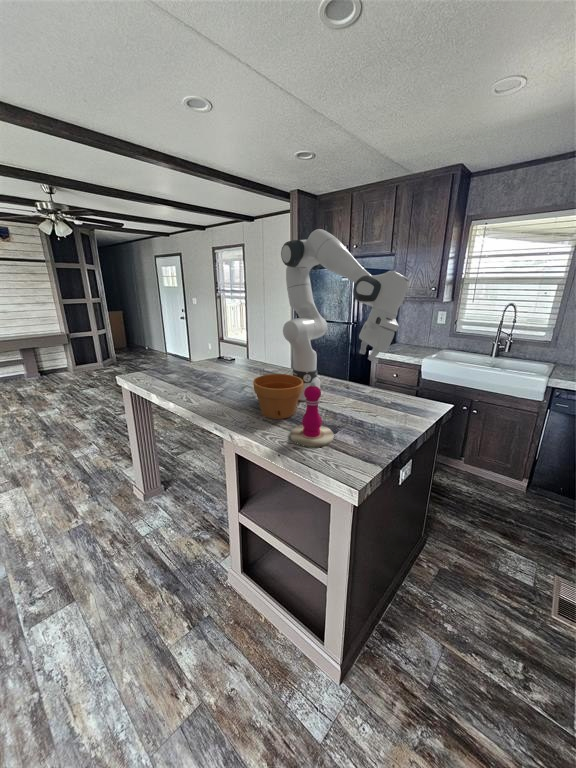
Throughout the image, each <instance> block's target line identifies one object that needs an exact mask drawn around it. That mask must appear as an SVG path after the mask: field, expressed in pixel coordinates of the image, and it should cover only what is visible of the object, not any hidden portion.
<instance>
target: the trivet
mask: <svg viewBox="0 0 576 768" xmlns="http://www.w3.org/2000/svg"><path fill="white" fill-rule="evenodd" d="M303 428H304V426H303V425H302V424H300V425H298V426H296V427H294V428H293V429H292V430H291V431H290V432H289V433H290V434H289V435H290V436H291V437H290V440H291V439H292V440H293V441H294V442H293V441H292V440H291V441H292V442H293V443H295V442H296V443H298V444H300V445H299V446H301V445H304V446H303V447H305V446H309V447H308V448H320V446H322V447H325V446H327V445H330V444H332V442H333V441H334V437H335V436H334V432H333V431H332V429H330V428H329V427H326V426H324V425H321V427H320V435H319V436H316V437H308V436H305V435H304V434H303ZM296 443H295V444H296ZM298 444H297V445H298Z"/></svg>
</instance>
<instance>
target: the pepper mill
mask: <svg viewBox="0 0 576 768" xmlns="http://www.w3.org/2000/svg"><path fill="white" fill-rule="evenodd" d="M310 385H311V386H309V387H307V388H306V389H305V391H304V395H305V397H306V401H305V404H306V410H305V413H304V415H303V417H302V421H301V425H303V426H304V428H303V434H304V435H305V436H308V437H316V436H319V435H320V427H321V426H323V422H322V417H321V415H320V413H319V404H320V398H321V397H322V396H321V392H322V390H321V388H320V389H319V388H318V387H317V386H315V383H314V382H311V384H310Z"/></svg>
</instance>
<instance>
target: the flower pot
mask: <svg viewBox="0 0 576 768" xmlns="http://www.w3.org/2000/svg"><path fill="white" fill-rule="evenodd" d="M252 382H253V389H254V390H253V391H254V393H255V394H256V397H257V400H258V403H259V408H260V412H261V414H262V415H263V417H266V418H269V419H272V418H273V420H281V419H283V420H284V419H287V418H290V417H292V416H294V414H295V413H296V409H297V405H298V402H299V400H298V399H299V395H300V394H301V393H302V389H303V380H302V379H301V378H299V377H296V376H293V374H284V373H270V374H269V373H267V374H264V375H260V376H257V377H255V378H254V379H253V381H252Z"/></svg>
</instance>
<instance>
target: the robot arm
mask: <svg viewBox="0 0 576 768" xmlns="http://www.w3.org/2000/svg"><path fill="white" fill-rule="evenodd" d="M280 257H281V261H282V263H283V264H284V265H285V266H286V267H285V282H286V290H287V291H286V292H287V296H288V303H289V306H290V307H291V308H292V309H293V310H294V311H295V313H296V314H297V317H296V318H293V319H290V320H288V321H286V322H285V323H284V325H283V327H282V335H283V337H284V339H285V340H286V341H287V342H288V343H289V344H290V346H291V349H292V353H293V368H292V376H296V377H299V378H301V379H302V380H303V389H302V393H301V394H300V395H299V399H298V401H302V402H303V401H305V402H306V397H305V395H304V391H305V389H306V388H307V387H309V386H311V385H310V384H311V382H314V383H315V386H317V387H318V388H319V389H320V390H321V380H320V378H318V368H317V363H318V362H317V361H318V360H317V357H318V355H317V351H316V350H314V349H313V347H312V343H311V340H312V341H313V340H317V339H319V338H321V337H323V336H324V335H325V334H326V332H327V331H328V323H327V321H326V319H325V318H324V317H322V315H321V314H320V312H319V310H318V309H317V306H316V304H315V300H314V295H313V290H312V283H311V279H310V272H311V270H317V269H319V267H321V266H322V267H323V268H324V269H326V270H328V271H330V272H332V273H334V274H336V275H338V276H342V277H344V278H346V279H348V280H349V281H351V282H353V283H354V286H353V290H352V293H353V297H354V299H355V300H356V301H357V302H359V303H361V304H364V305H366V306H369V307H371V310H370V312H369V315H368V317H367V320H366V321H365V323H363V326H362V328H361V330H360V332H359V335H358V338H359V340H360V341H361V343H360V349H359V354H361V355H366V352H367V346H368V345H369V346H370V347H372V350H371V352H370V354H368V357H367V360H369V361H371V362H374V361H375V359H376V357H377V356H378V355H379V354H380V352H382V353H385V352H387V350H388V349H390V348H389V347H390V345H391V343H392V342H393V339H394V337H395V332H397V331H398V329H399V327H400V325H399V323H398V321H397V316H398V312H399V308H400V307H401V306H402V304H403V302H404V300H405V297H406V294H407V291H408V288H409V284H410V283H409V279H408V278H407V276H405V275H403V274H401V273H399V272H397V271H394V270H388V271H386V272H384V273H380V274H376V275H372V274H371V273H370V272H369V271H368V270H366V269H365V268H364V267H363V266H362V265H361V264H360V263H359V261H357V259H356V258H355V257H354V256H353V255H352V253H351V252H350V251H349V249H347V247H346V246H345V245H344V244H343V243H342V242H341V241H340V239H338V238H337V237H336V236H334V235H333V234H332V233H330V232H328V231H326V230H325V229H321V228H318V229H315V230H313V231H312V232H311V233H310V234H309V236H308V238H306V239H305V238H304V239H292V240H289V241H286V242H285V243H284V244H283V245H282V248H281V251H280ZM322 396H323V397H324V392H322V391H321V396H320V397H322Z"/></svg>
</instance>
